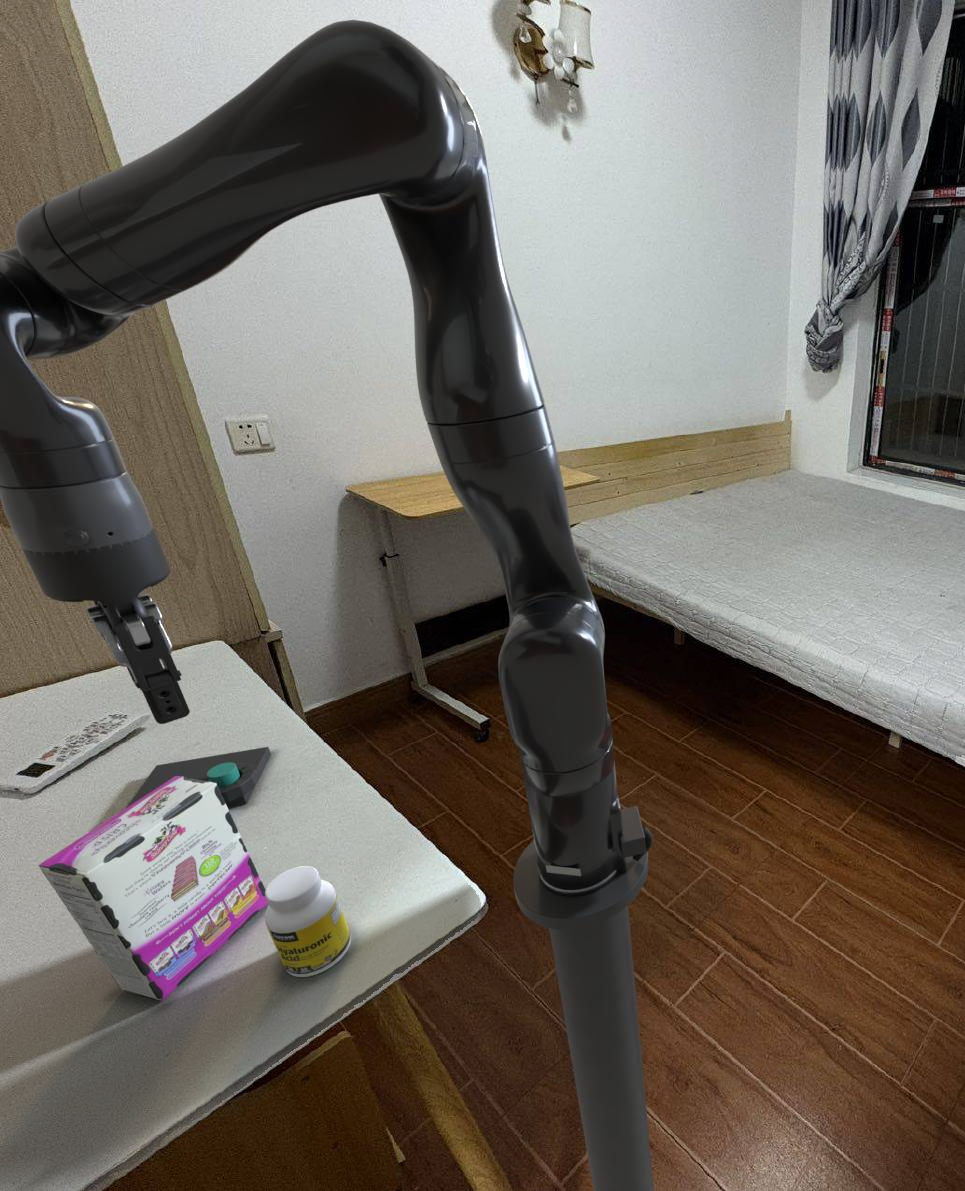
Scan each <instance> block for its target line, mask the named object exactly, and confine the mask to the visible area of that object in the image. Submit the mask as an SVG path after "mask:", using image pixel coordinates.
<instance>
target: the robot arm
mask: <svg viewBox="0 0 965 1191" xmlns="http://www.w3.org/2000/svg"><path fill="white" fill-rule="evenodd" d="M487 162H488V161H487V156H486V150H485V143H484V139H483V134H482V131H481V127H480V124H479V121H478V118H477V115H476V113H475V111H474V108H473V107H472V105H471V103H470V101H469V99H468V96H466V94H465V93H464V91H463V90H462V89H461V87H460V85H459V84H458V83H457V81H455V80H454V78H453V77H452V76H450V75H449V74H448V72H446V70H444V68H442V66H440V65H439V64H438V63H437V62H435V61H434V60H433V59H432V58H430V57H429V55H427V54H426V53H425V52H423V51H422V50H421V49H419V47H417V46H416V45H414V44H413V43H412V42H411V41H410V40H408V39H406V38H405V37H403V36H401V35H400V34H398V33H397V32H395V31H393V30H392V29H389V28H388V27H384V26H382V25H380V24H377V23H374V22H371V21H364V20H358V19H348V20H341V21H335V22H332V23H330V24H327V25H325V26H323V27H322V28H320V29H319V30H316V31H315V32H314V33H313V34H311V35H309V36H308V37H307V38H305V39H304V40H302V41H301V42H299V43H298V44H297V45H296V46H295V47H293V48H292V49H291V50H289V51H288V52H287V53H286V54H285V55H283V56H282V57H281V58H279V60H277V61H276V62H275V63H274V64H272V66H271V67H269V68H268V69H267V70H266V71H265V72H263V73H262V74H261V75H260V76H258V78H256V79H255V80H254V81H253V82H251V83H250V84H249V85H248V86H247V87H246V88H245V89H243V90H242V91H240V92H239V93H238V94H236V95H235V96H233V97H232V98H231V99H229V100H228V101H227V102H225V103H224V104H222V105H221V106H220V107H218V108H217V109H216V110H214V111H213V112H211V113H210V114H208V115H207V116H205V117H204V118H203V119H202V120H200V121H199V122H197V123H196V124H194V125H193V126H191V127H190V128H189V129H187V130H185V131H184V132H182V133H181V134H179V135H178V136H176V137H174V138H172V139H171V140H169V141H168V142H166V143H164V144H163V145H160V146H159V147H157V148H155V149H153V150H152V151H150V152H148V153H146V154H144V155H143V156H140V157H138V158H137V159H134V160H132V161H131V162H128V163H126V164H125V165H122V166H120V167H118V168H115V169H114V170H112V171H110V172H107V173H105V174H102V175H101V176H98V177H96V178H94V179H91V180H89V181H87V182H85V183H83V184H81V185H79V186H76V187H74V188H72V189H69V190H67V191H66V192H63V193H62V194H60V195H57V196H55V197H53V198H51V199H50V200H47V201H45V202H43V203H41V204H39V205H37V206H36V207H34V208H32V209H31V210H30V211H29V210H28V212H26V214H24V215H23V216H22V217H20V219H19V220H18V222H17V224H16V227H15V229H14V239H15V244H16V246H13V247H11V248H7V249H4V250H0V502H1V505H2V510H3V512H4V515H5V517H6V519H7V521H8V524H9V526H10V528H11V529H12V532H13V534H14V536H15V539H16V540H17V542H18V544H19V546H20V548H21V550H22V552H23V555H24V556H25V558H26V561H27V562H28V565H29V566H30V569H31V571H32V572H33V575H34V577H35V580H36V581H37V584H38V585H39V587H40V589H41V591H42V593H43V594H44V595H45V596H46V598H49V599H51V600H54V601H58V602H64V603H65V602H66V603H83V602H84V601H86V602H88V601H90V602H93V603H94V605H92V606H88V607H85V610H86V612H87V613H86V614H88V615H87V616H88V617H89V619H90V621H91V623H92V625H93V626H94V627H95V630H96V632H97V633H98V635H99V637H101V638H103V640H104V641H106V642H107V645H108V646H109V649H110V650H111V652H112V655H113V657H114V659H115V661H116V663H117V665H118V666H120V667H123V668H127V669H126V670H127V672H128V674H129V676H130V678H131V680H132V682H133V684H134V686H135V687H136V688H137V689H138V690H140V691H141V693H142V694H143V696H144V698H145V701H146V704H147V706H148V708H149V709H150V712H151V714H152V716H153V718H154V720H155V722H156V723H158V724H159V725H165V724H168V723H172V722H174V721H178V720H180V719H183V718H185V717H187V716H189V714H190V712H191V710H190V708H189V706H188V703H187V701H186V699H185V696H184V694H183V691H182V689H181V686H180V684H179V682H181V681H182V678H181V677H182V672H181V671H180V669H179V670H178V669H177V666H176V663H175V662H174V659H173V656H172V655H171V654H172V652H173V645H172V643H171V641H170V638H169V636H168V635H167V632H166V631H165V628H164V626H163V625H162V622H163V616H162V613H161V611H160V609H159V607H158V605H157V603H156V602H153V600H152V598H151V596H150V594H149V593H146V594H141V595H140V593H142V592H143V591H144V590H147V589H148V588H150V587H155V586H157V585H158V584H160V583H162V582H163V581H165V580H166V579H167V578H168V577H169V575H170V572H171V567H170V565H169V562H168V560H167V557H166V555H165V552H164V550H163V548H162V544H161V543H160V539H159V537H158V535H157V532H156V530H155V527H154V525H153V522H152V520H151V517H150V514H149V512H148V509H147V507H146V504H145V502H144V500H143V497H142V495H141V493H140V492H139V489H138V487H137V486H136V485H135V483H134V481H133V479H132V478H131V476H130V474H129V471H128V470H127V467H126V463H125V462H124V459H123V456H122V455H121V452H120V450H119V447H118V446H119V445H118V444H117V442H116V439H115V437H114V434H113V432H112V429H111V428H110V425H109V423H108V420H107V419H106V417H105V415H104V413H103V412H102V410H101V409H100V408H99V407H98V406H97V405H96V404H95V403H93V402H92V401H90V400H88V399H87V398H83V397H80V396H76V395H70V394H63V393H54V392H52V390H50V388H49V387H48V386H47V385H46V384H45V382H44V381H43V380H42V379H41V377H40V376H39V375H38V374H37V372H36V371H35V370H34V368H33V367H32V366H31V363H30V362H29V361H37V360H45V359H54V358H60V357H65V356H68V355H71V354H74V353H76V352H79V351H82V350H85V349H87V348H89V347H91V346H93V345H96V344H97V343H99V342H100V341H102V340H104V339H105V338H107V337H108V336H109V335H111V334H112V333H113V332H115V331H116V330H117V329H118V328H120V327H121V326H122V325H124V324H125V323H126V322H128V320H130V318H131V317H133V315H135V313H136V312H139V311H142V310H146V309H148V308H150V307H153V306H156V305H157V304H160V303H162V302H164V301H166V300H168V299H170V298H173V297H175V296H177V295H179V294H181V293H184V292H186V291H188V290H191V289H193V288H195V287H197V286H199V285H201V284H202V283H205V282H206V281H208V280H210V279H213V278H214V277H215V276H218V275H219V274H220V273H221V272H222V273H223V271H225V270H227V269H228V268H229V267H230V266H232V265H233V264H234V263H236V262H237V261H238V260H239V259H240V258H241V257H242V256H244V255H245V254H246V253H247V252H248V251H250V250H251V248H252V247H254V246H255V245H256V244H257V243H258V242H259V241H260V240H261V239H262V238H264V237H265V236H266V235H267V234H269V233H270V232H272V231H273V230H275V229H277V228H278V227H280V226H282V225H283V224H285V223H287V222H289V221H291V220H293V219H295V218H297V217H300V216H302V215H304V214H307V213H309V212H311V211H314V210H317V209H321V208H323V207H327V206H331V205H334V204H338V203H342V202H347V201H350V200H354V199H359V198H364V197H369V196H375V195H378V196H379V198H380V201H381V203H382V205H383V207H384V209H385V213H386V215H387V217H388V219H389V222H390V226H391V228H392V231H393V233H394V236H395V239H396V242H397V244H398V247H399V250H400V253H401V256H402V258H403V261H404V262H403V263H404V265H405V268H406V272H407V276H408V280H409V285H410V290H411V297H412V306H413V320H414V321H413V327H414V328H413V329H414V331H413V332H414V333H413V334H414V358H415V371H416V382H417V390H418V395H419V396H418V397H419V400H420V405H421V408H422V412H423V416H424V419H425V421H426V425H427V428H428V431H429V435H430V437H431V439H432V440H431V441H432V442H433V445H434V448H435V452H436V454H437V457H438V460H439V464H440V465H441V468H442V470H443V472H444V475H445V478H446V479H447V481H448V483H449V485H450V488H451V490H452V491H453V493H454V495H455V496H456V498H457V500H458V501H459V503H460V504H461V506H462V507H463V508H464V510H465V512H466V513H467V515H468V516H469V517H470V519H471V520H472V521H473V523H474V524H475V526H476V527H477V528H478V529H479V531H480V533H481V534H482V535H483V537H484V538H485V540H486V541H487V543H488V545H489V547H490V548H491V551H492V553H493V555H494V558H495V561H496V563H497V566H498V570H499V572H500V575H501V579H502V584H503V588H504V592H505V597H506V603H507V607H508V614H509V615H508V616H509V622H508V623H509V624H508V628H507V631H506V633H505V636H504V639H503V641H502V644H501V647H500V650H499V654H498V660H497V668H498V669H497V670H498V682H499V687H500V693H501V698H502V702H503V707H504V712H505V716H506V721H507V725H508V729H509V735H510V737H511V740H512V741H513V743H514V744H515V746H516V747H517V748H518V753H519V760H520V765H521V766H520V767H521V771H522V777H523V783H524V789H525V795H526V801H527V806H528V812H529V818H530V824H531V830H532V836H533V840H534V842H535V848H536V854H537V862H538V871H539V877H540V880H541V882H542V884H543V885H544V886H545V888H547V889H548V890H549V891H551V892H552V893H555V894H557V895H561V896H568V897H574V896H582V895H586V894H590V893H592V892H595V891H597V890H599V889H601V888H603V887H604V886H606V885H607V884H608V883H610V882H611V881H612V880H613V879H614V878H615V877H616V876H617V875H619V874H622V873H625V872H626V860H625V858H626V857H630V856H632V857H633V859H634V860H635V861H639V860H640V858H641V857H642V856H643V855H644V854H645V853H646V852H647V851H648V852H649V850H650V848H652V845H653V842H654V836H653V834H652V832H651V830H649V828H648V827H646V825H645V824H644V825H642V819H641V816H640V812H639V808H638V805H635V806H630V807H626V808H621V803H620V799H619V794H618V784H617V772H616V763H615V762H616V761H615V755H614V754H615V752H614V740H613V729H612V720H611V716H610V714H609V712H608V703H607V702H608V701H607V693H606V682H605V670H604V668H605V667H604V656H605V655H604V654H605V643H606V642H605V641H606V640H605V639H606V631H605V625H604V621H603V618H602V614H601V612H600V610H599V607H598V604H597V602H596V599H595V597H594V595H593V592H592V589H591V587H590V584H589V582H588V580H587V577H586V574H585V570H584V568H583V566H582V563H581V560H580V557H579V555H578V552H577V549H576V545H575V542H574V538H573V533H572V528H571V523H570V516H569V509H568V503H567V496H566V491H565V485H564V481H563V476H562V475H563V474H562V471H561V466H560V460H559V456H558V452H557V451H558V450H557V447H556V442H555V438H554V434H553V430H552V426H551V422H550V417H549V414H548V410H547V406H546V404H545V399H544V396H543V392H542V389H541V385H540V383H539V379H538V376H537V373H536V372H537V371H536V368H535V365H534V361H533V358H532V355H531V351H530V347H529V344H528V340H527V337H526V334H525V330H524V328H523V323H522V320H521V317H520V315H519V311H518V308H517V305H516V303H515V300H514V296H513V294H512V289H511V287H510V283H509V280H508V276H507V273H506V268H505V264H504V259H503V255H502V249H501V244H500V237H499V232H498V225H497V219H496V213H495V207H494V201H493V194H492V188H491V181H490V175H489V169H488V163H487Z"/></svg>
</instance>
